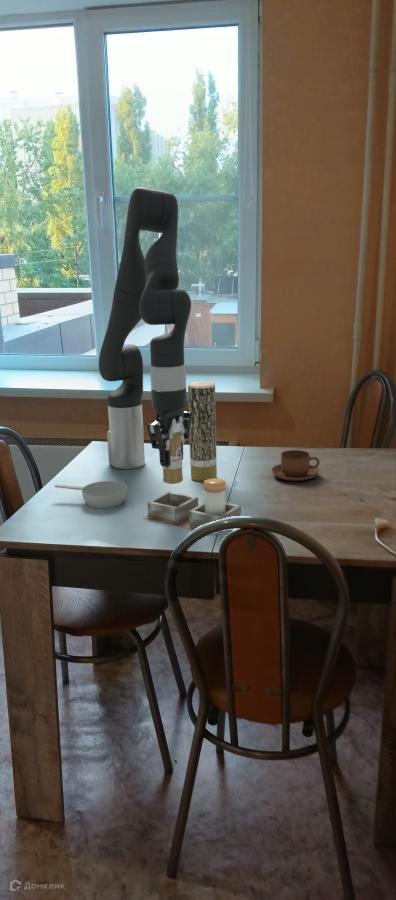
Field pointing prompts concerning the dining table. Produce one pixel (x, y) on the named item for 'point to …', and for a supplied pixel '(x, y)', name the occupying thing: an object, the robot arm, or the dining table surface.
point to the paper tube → (202, 430)
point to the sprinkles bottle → (174, 458)
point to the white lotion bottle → (214, 496)
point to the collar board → (184, 511)
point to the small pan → (101, 493)
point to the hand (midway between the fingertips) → (171, 462)
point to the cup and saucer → (296, 466)
